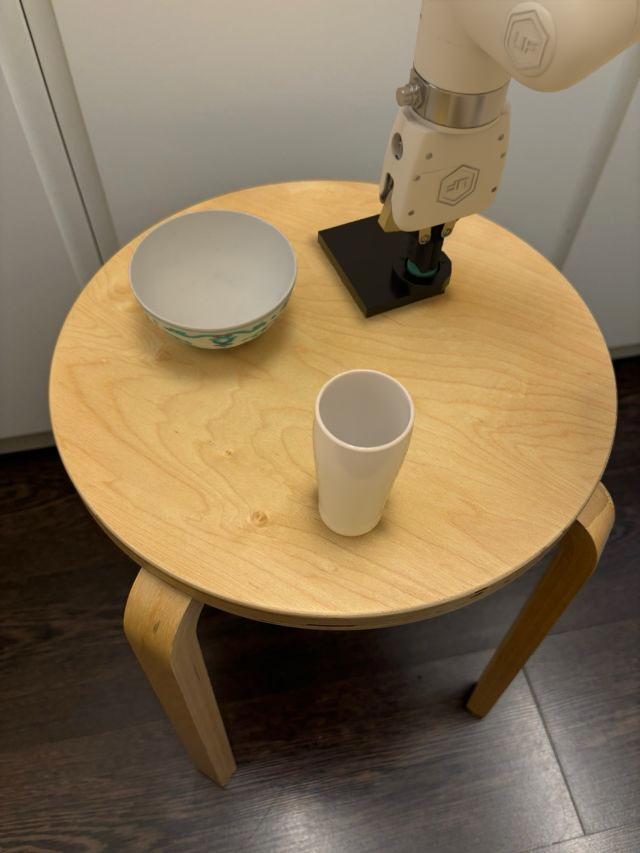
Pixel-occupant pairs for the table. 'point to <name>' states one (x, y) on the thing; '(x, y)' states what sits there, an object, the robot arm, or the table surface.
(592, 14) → the robot arm
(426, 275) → the tare button
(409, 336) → the table surface
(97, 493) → the table surface
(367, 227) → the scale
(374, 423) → the white tall cup
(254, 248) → the chinaware
